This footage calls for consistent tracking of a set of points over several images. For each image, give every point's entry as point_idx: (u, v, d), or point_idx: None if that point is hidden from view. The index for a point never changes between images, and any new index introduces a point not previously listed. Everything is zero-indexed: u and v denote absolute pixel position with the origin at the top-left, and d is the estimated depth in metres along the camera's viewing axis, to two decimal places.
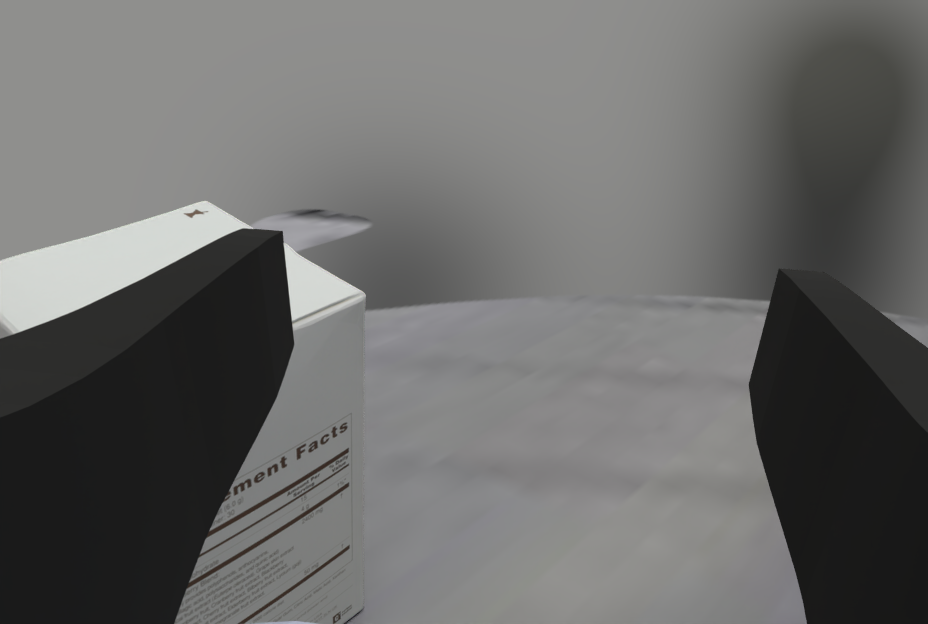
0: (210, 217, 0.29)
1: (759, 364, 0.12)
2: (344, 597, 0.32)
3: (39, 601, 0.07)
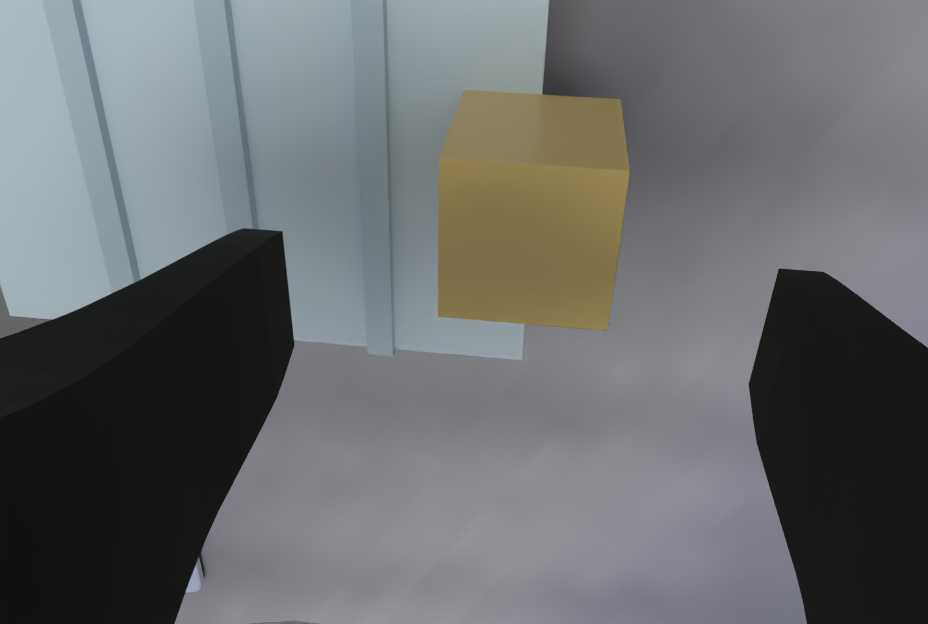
0: None
1: (759, 364, 0.12)
2: None
3: (39, 601, 0.07)
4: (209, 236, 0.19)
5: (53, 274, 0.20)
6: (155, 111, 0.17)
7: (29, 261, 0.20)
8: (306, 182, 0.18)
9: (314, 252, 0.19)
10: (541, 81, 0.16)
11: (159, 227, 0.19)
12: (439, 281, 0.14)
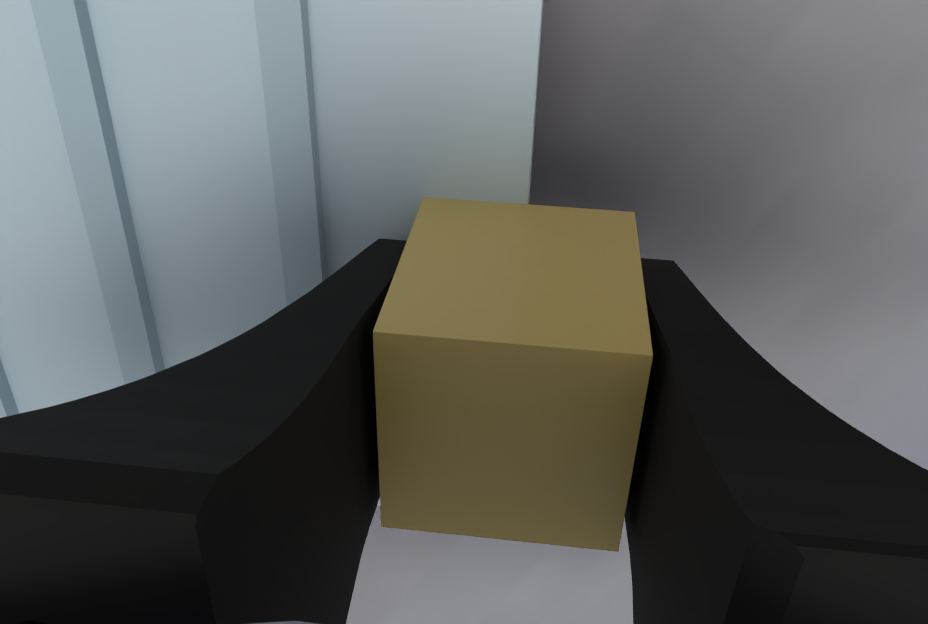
0: None
1: None
2: None
3: None
4: (101, 368, 0.14)
5: None
6: (18, 218, 0.13)
7: None
8: (220, 307, 0.13)
9: None
10: (527, 187, 0.12)
11: (36, 355, 0.14)
12: (381, 484, 0.10)
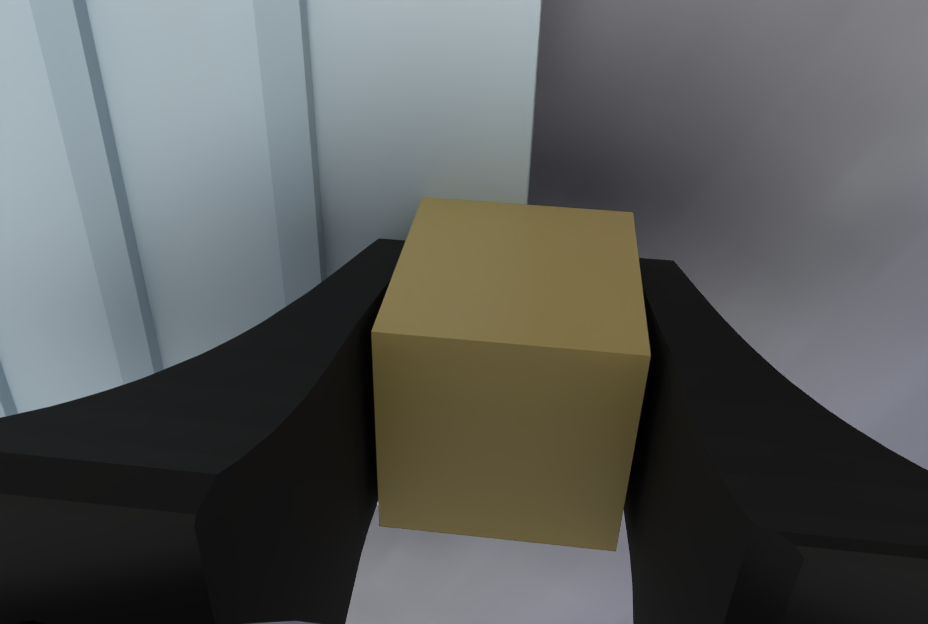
0: None
1: None
2: None
3: None
4: (100, 367, 0.14)
5: None
6: (16, 217, 0.13)
7: None
8: (219, 307, 0.13)
9: None
10: (525, 188, 0.12)
11: (36, 355, 0.14)
12: (379, 484, 0.10)
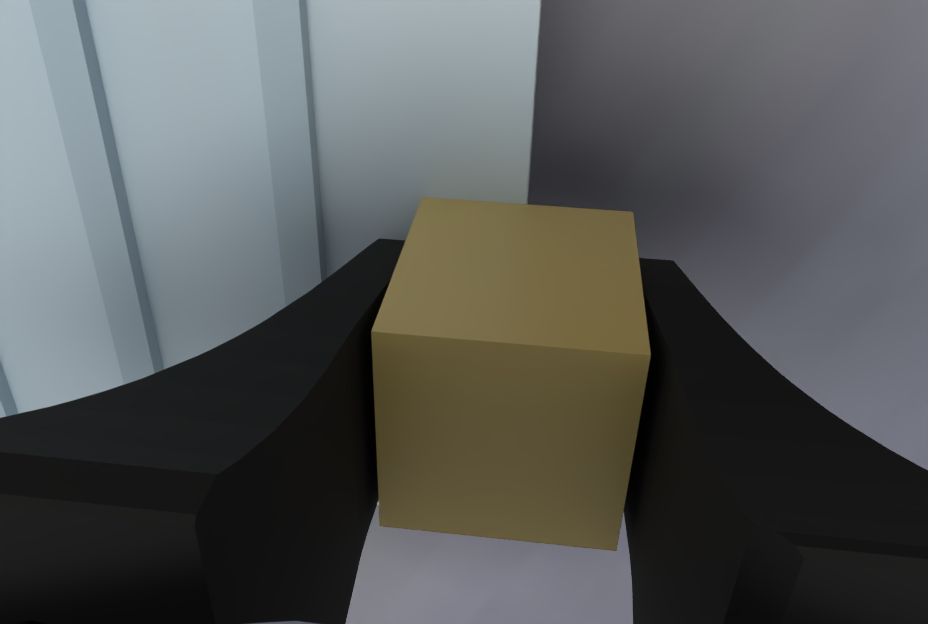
0: None
1: None
2: None
3: None
4: (100, 368, 0.14)
5: None
6: (17, 218, 0.13)
7: None
8: (219, 307, 0.13)
9: None
10: (525, 187, 0.12)
11: (36, 355, 0.14)
12: (380, 484, 0.10)
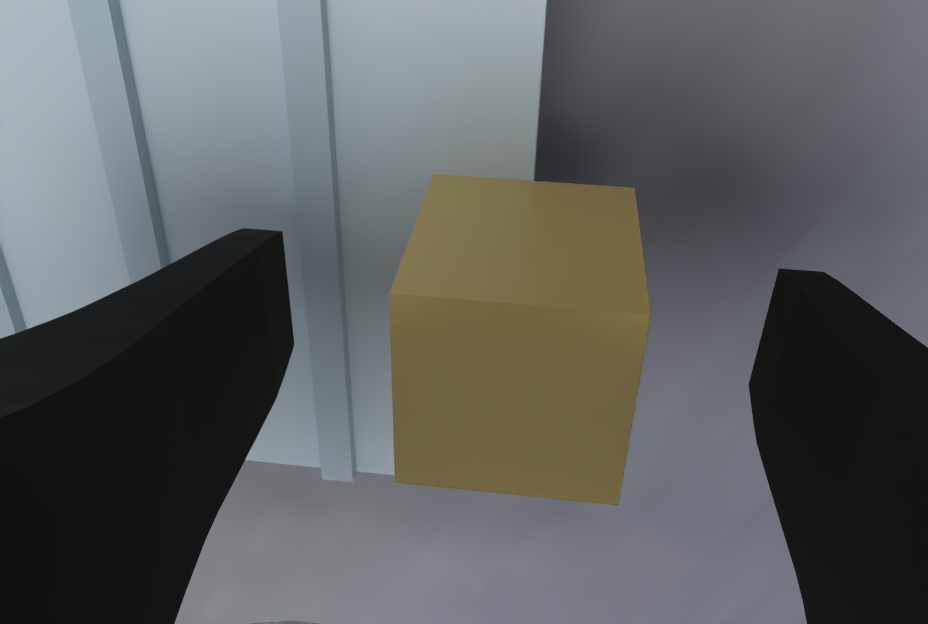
0: None
1: (759, 364, 0.12)
2: None
3: (39, 601, 0.07)
4: None
5: None
6: (48, 195, 0.14)
7: None
8: None
9: None
10: (532, 165, 0.12)
11: None
12: (395, 441, 0.11)
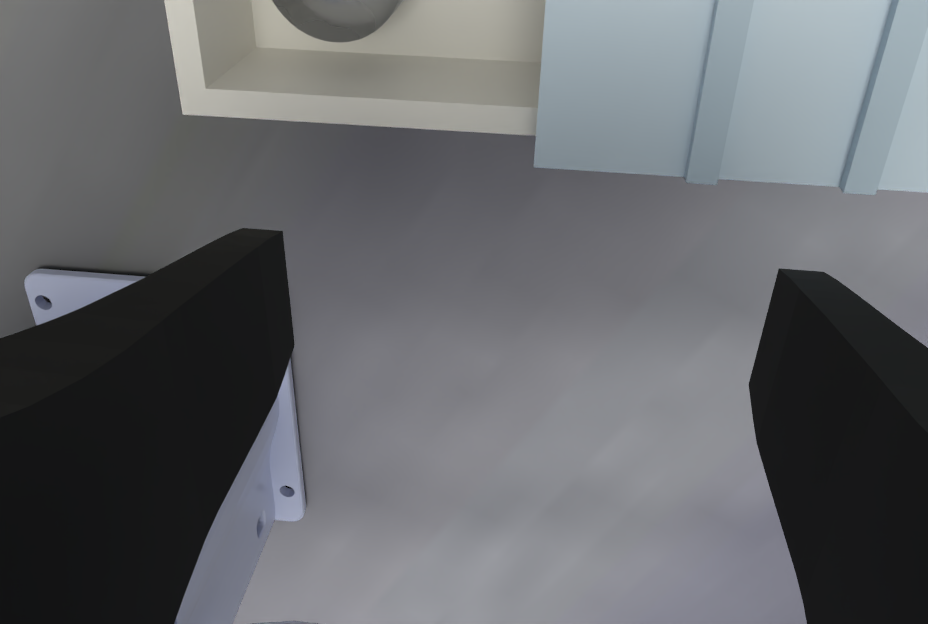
0: None
1: (759, 364, 0.12)
2: None
3: (39, 601, 0.07)
4: (847, 49, 0.15)
5: (614, 108, 0.16)
6: None
7: (588, 91, 0.16)
8: None
9: None
10: None
11: (783, 37, 0.15)
12: None
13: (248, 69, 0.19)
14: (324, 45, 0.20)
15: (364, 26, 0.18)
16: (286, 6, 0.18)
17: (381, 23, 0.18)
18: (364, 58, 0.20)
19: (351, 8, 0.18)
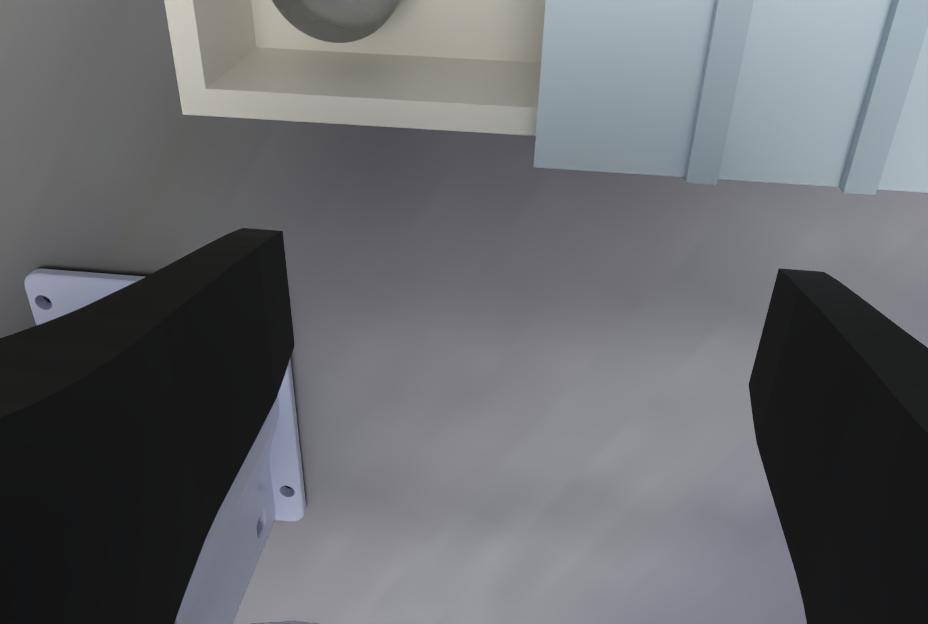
0: None
1: (759, 364, 0.12)
2: None
3: (39, 601, 0.07)
4: (847, 49, 0.15)
5: (614, 108, 0.16)
6: None
7: (588, 91, 0.16)
8: None
9: None
10: None
11: (783, 37, 0.15)
12: None
13: (248, 69, 0.19)
14: (324, 45, 0.20)
15: (364, 26, 0.18)
16: (286, 7, 0.18)
17: (381, 23, 0.18)
18: (364, 58, 0.20)
19: (351, 8, 0.18)
